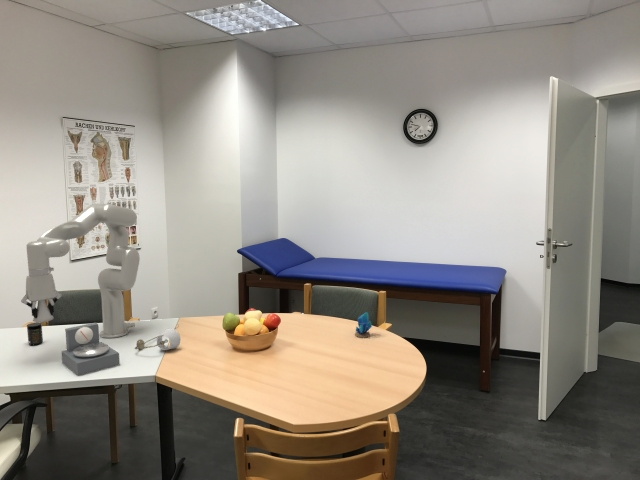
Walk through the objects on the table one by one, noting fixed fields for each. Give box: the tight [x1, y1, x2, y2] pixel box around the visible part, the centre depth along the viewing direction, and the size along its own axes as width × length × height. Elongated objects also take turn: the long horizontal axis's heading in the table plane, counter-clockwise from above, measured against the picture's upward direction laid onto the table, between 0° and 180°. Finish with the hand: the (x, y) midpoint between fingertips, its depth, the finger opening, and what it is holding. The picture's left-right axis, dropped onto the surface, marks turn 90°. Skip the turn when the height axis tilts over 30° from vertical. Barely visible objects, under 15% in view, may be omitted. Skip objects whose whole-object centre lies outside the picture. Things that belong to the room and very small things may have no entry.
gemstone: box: [354, 311, 373, 339], centre depth 240 cm, size 7×9×12 cm
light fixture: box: [134, 325, 181, 351], centre depth 232 cm, size 9×18×40 cm
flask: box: [32, 299, 55, 323], centre depth 206 cm, size 7×7×10 cm
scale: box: [61, 322, 121, 377], centre depth 205 cm, size 16×18×14 cm
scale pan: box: [73, 342, 110, 357], centre depth 204 cm, size 13×13×1 cm
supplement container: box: [26, 322, 44, 347], centre depth 228 cm, size 6×6×9 cm
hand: (43, 315), depth 206 cm, fingers closed on flask, 5 cm apart
